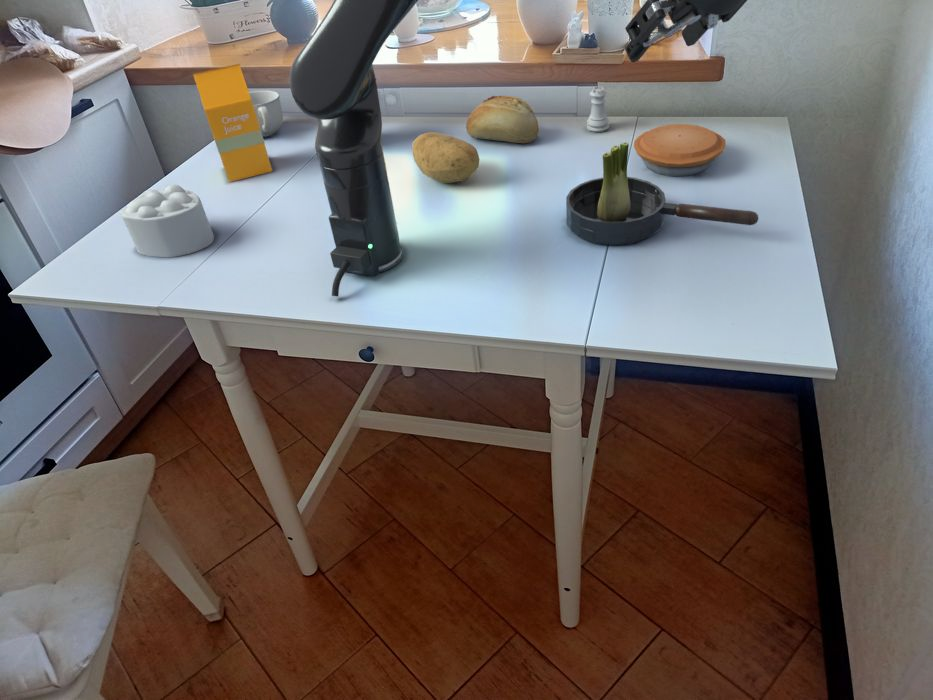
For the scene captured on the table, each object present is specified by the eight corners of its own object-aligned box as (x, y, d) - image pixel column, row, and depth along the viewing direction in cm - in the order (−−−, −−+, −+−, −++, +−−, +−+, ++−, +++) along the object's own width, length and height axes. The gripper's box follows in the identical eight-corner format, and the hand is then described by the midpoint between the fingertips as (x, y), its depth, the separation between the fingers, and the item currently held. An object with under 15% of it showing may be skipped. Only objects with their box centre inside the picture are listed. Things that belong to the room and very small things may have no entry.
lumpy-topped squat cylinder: (165, 223, 129) (147, 179, 123) (227, 228, 125) (210, 182, 120) (129, 254, 121) (108, 208, 116) (193, 259, 118) (174, 213, 112)
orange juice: (273, 171, 142) (242, 69, 129) (228, 182, 140) (193, 79, 127) (266, 157, 148) (237, 58, 135) (224, 168, 146) (190, 68, 133)
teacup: (238, 129, 162) (227, 94, 157) (285, 119, 164) (275, 84, 159) (242, 151, 152) (230, 115, 146) (292, 140, 153) (282, 104, 148)
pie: (639, 142, 135) (640, 116, 131) (726, 146, 130) (729, 119, 126) (625, 179, 124) (626, 152, 120) (719, 185, 119) (723, 156, 116)
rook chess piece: (612, 125, 142) (613, 85, 137) (603, 134, 139) (604, 93, 134) (592, 123, 144) (592, 83, 139) (582, 131, 141) (582, 91, 136)
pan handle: (756, 228, 103) (758, 216, 101) (660, 217, 108) (661, 205, 107) (758, 221, 104) (760, 209, 103) (663, 211, 109) (664, 199, 108)
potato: (459, 199, 124) (454, 156, 119) (404, 181, 132) (397, 139, 127) (495, 177, 129) (492, 135, 124) (440, 161, 137) (435, 120, 132)
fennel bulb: (622, 208, 115) (625, 137, 107) (638, 221, 111) (642, 148, 104) (590, 217, 114) (590, 146, 106) (604, 231, 110) (606, 158, 102)
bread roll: (476, 127, 148) (473, 89, 143) (546, 130, 144) (544, 91, 138) (460, 146, 142) (455, 107, 137) (532, 150, 137) (530, 110, 132)
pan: (650, 253, 105) (652, 228, 102) (553, 240, 111) (553, 215, 108) (672, 205, 115) (674, 181, 113) (582, 195, 121) (582, 172, 118)
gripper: (773, -88, 76) (691, 8, 91) (665, -63, 72) (598, 33, 87) (803, -27, 75) (716, 60, 91) (696, 2, 71) (623, 88, 87)
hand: (658, 47), depth 89 cm, fingers open, 8 cm apart
